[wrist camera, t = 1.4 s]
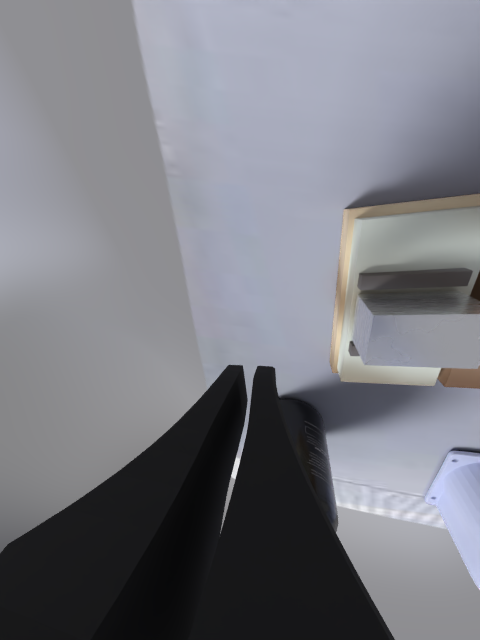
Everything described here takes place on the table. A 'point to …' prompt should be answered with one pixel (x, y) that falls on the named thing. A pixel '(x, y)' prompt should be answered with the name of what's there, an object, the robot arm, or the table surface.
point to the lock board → (405, 275)
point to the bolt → (418, 329)
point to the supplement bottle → (312, 451)
